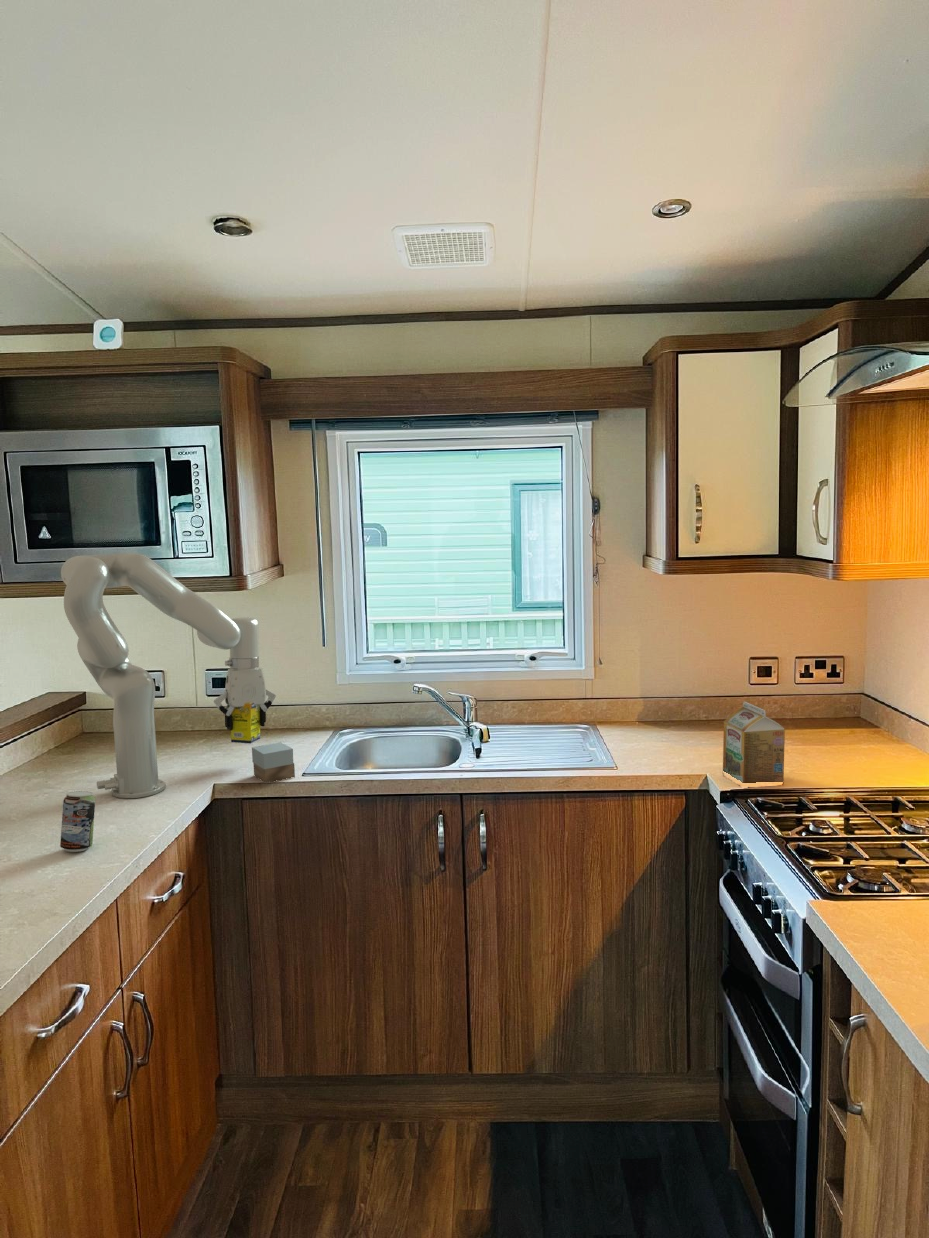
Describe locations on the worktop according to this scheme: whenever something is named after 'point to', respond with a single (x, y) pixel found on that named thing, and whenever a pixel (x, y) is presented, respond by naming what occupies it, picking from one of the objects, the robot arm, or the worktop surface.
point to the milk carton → (753, 746)
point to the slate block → (272, 755)
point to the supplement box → (246, 723)
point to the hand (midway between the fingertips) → (245, 727)
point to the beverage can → (77, 821)
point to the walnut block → (274, 773)
